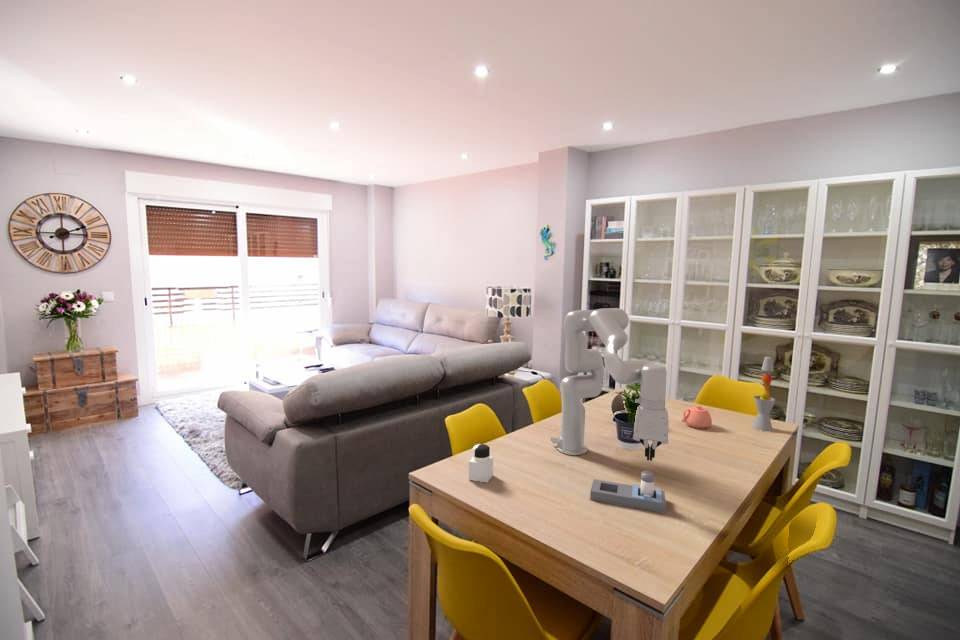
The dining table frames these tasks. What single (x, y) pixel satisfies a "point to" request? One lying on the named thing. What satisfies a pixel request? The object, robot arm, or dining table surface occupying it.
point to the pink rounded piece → (697, 417)
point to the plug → (647, 483)
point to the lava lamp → (764, 400)
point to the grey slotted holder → (627, 495)
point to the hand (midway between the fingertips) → (649, 459)
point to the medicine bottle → (481, 464)
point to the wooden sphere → (617, 404)
